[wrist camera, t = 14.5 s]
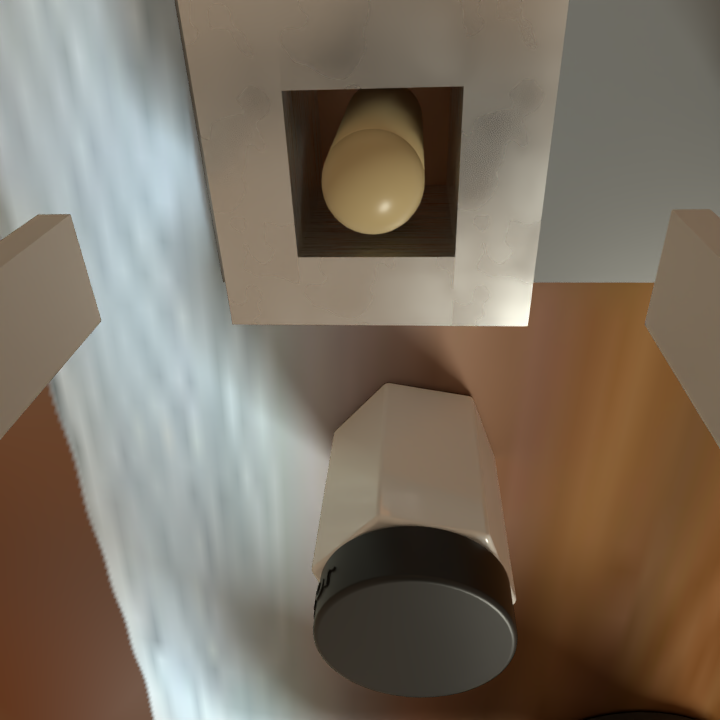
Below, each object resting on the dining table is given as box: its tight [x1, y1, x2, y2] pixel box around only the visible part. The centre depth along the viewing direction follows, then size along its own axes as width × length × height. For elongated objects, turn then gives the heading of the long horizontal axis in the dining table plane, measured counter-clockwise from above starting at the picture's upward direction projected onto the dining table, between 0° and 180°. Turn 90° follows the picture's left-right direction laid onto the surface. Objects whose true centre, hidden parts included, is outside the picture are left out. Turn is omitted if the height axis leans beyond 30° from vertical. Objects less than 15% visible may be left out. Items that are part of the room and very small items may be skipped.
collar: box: [177, 0, 569, 326], centre depth 22 cm, size 10×10×7 cm
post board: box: [175, 0, 720, 282], centre depth 21 cm, size 30×14×10 cm, turn 92°
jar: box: [312, 383, 517, 697], centre depth 30 cm, size 9×8×12 cm
